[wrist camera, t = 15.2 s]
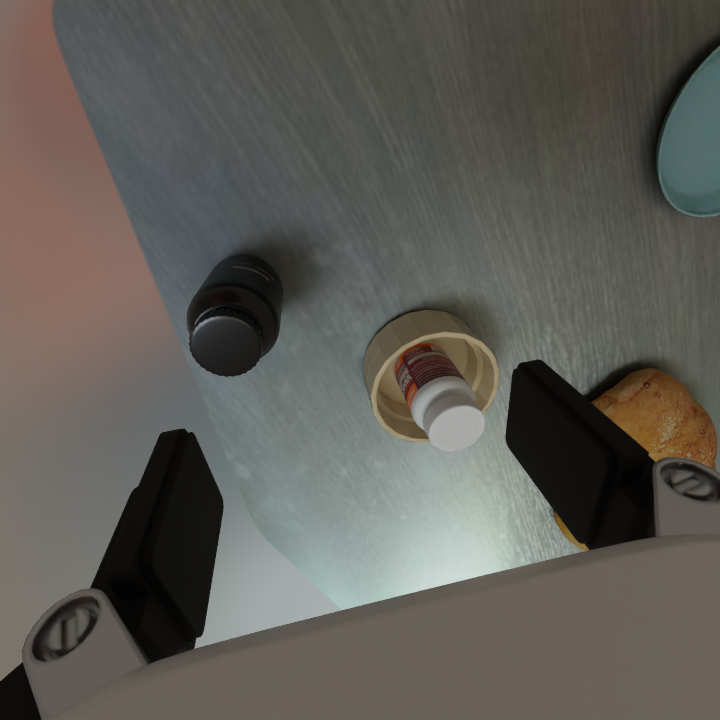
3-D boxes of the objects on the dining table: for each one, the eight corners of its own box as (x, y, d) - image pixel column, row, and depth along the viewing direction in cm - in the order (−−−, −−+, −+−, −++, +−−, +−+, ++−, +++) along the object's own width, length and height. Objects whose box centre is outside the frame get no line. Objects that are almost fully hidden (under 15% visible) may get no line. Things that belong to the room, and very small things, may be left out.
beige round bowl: (369, 418, 46) (379, 452, 41) (354, 320, 40) (363, 347, 34) (473, 397, 47) (495, 428, 42) (475, 297, 40) (502, 320, 35)
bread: (657, 507, 65) (712, 563, 56) (545, 535, 64) (584, 596, 55) (715, 342, 49) (806, 385, 40) (566, 377, 48) (626, 429, 39)
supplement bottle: (270, 245, 35) (261, 289, 24) (291, 313, 38) (291, 377, 28) (195, 262, 34) (154, 314, 24) (223, 329, 38) (197, 399, 28)
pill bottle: (385, 351, 41) (414, 416, 32) (439, 331, 41) (485, 390, 31) (401, 394, 44) (431, 465, 35) (451, 376, 44) (496, 442, 34)
